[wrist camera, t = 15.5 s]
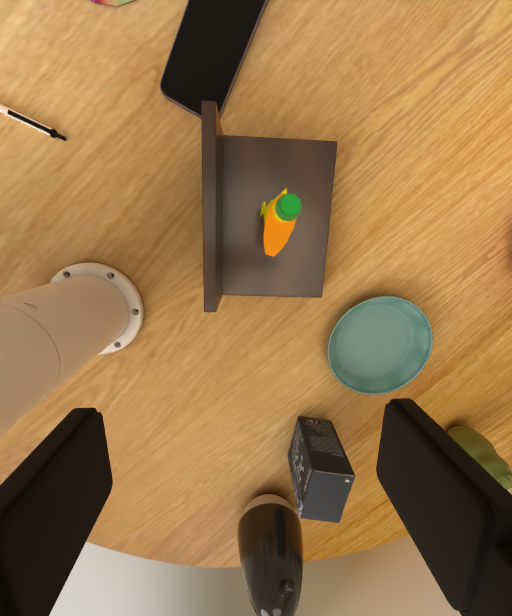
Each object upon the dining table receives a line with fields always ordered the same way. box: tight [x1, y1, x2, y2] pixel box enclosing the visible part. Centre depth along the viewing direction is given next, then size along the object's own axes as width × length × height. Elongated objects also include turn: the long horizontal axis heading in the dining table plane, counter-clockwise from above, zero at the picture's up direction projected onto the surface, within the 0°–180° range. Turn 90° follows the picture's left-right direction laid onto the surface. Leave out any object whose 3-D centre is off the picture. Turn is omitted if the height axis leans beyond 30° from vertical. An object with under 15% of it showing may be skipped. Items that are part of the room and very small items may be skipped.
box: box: [288, 416, 355, 523], centre depth 40 cm, size 8×6×11 cm
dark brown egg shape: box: [238, 494, 303, 616], centre depth 41 cm, size 10×10×15 cm
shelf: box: [201, 101, 337, 312], centre depth 31 cm, size 14×18×11 cm
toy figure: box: [260, 189, 301, 257], centre depth 27 cm, size 7×4×12 cm, turn 163°
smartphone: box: [160, 0, 268, 119], centre depth 30 cm, size 7×1×15 cm
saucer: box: [327, 296, 433, 395], centre depth 39 cm, size 15×15×3 cm
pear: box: [446, 426, 512, 490], centre depth 41 cm, size 6×5×10 cm
